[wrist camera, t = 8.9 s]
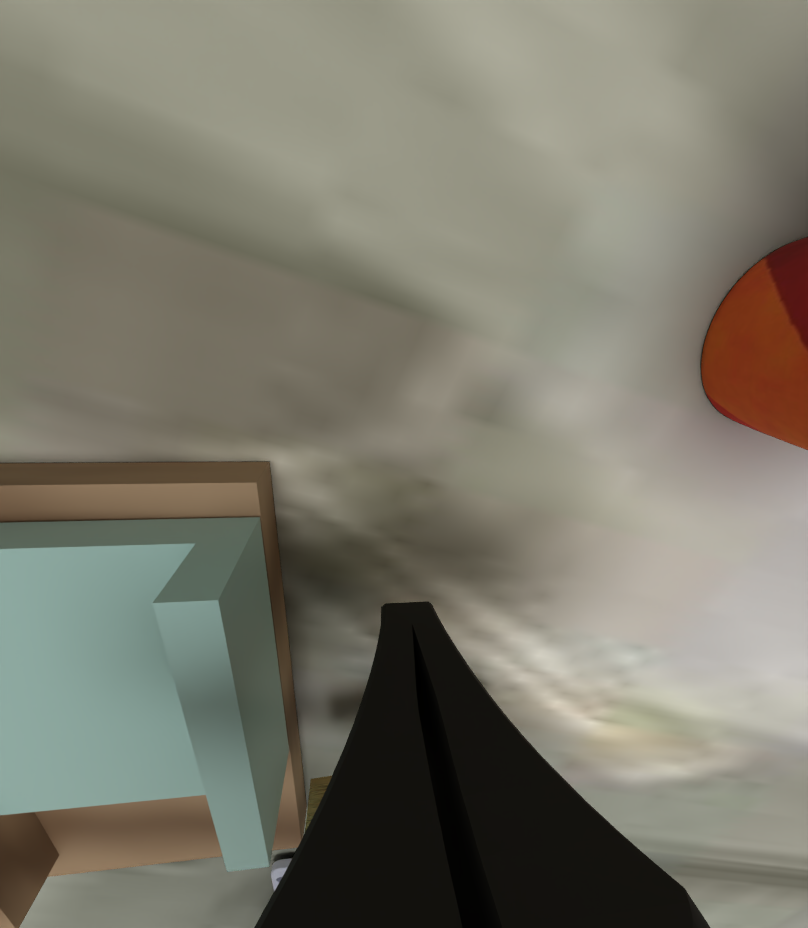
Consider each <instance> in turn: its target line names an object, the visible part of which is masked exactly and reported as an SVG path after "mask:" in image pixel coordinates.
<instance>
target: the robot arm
mask: <svg viewBox="0 0 808 928" xmlns="http://www.w3.org/2000/svg"><path fill="white" fill-rule="evenodd" d="M271 879H272V884H273V889H274V893H273V895H272V897H271V899H270V900H269V902H268V904H267V906H266V908H265V909H264V911H263V913H262V915H261V917H260V918H259V920H258V922H257V924H256V926H255V927H254V928H710V926H709V925H708V923H707V922H706V920H705V919H704V917H703V916H702V914H701V913H700V911H699V910H698V908H697V907H696V905H695V904H694V902H693V901H692V899H691V898H690V896H689V894H688V893H687V891H686V890H685V888H684V887H683V886H681V885H680V884H679V883H678V882H677V881H675V880H674V879H673V878H672V877H671V876H669V875H668V874H667V873H666V872H665V871H663V870H662V869H661V868H660V867H659V866H658V865H656V864H655V863H654V862H653V861H652V860H650V859H649V858H648V857H647V856H646V855H645V854H644V853H642V852H641V851H640V850H639V849H638V848H637V847H636V846H634V845H633V844H632V843H631V842H630V841H629V840H628V839H627V838H625V837H624V836H623V835H622V834H621V833H620V832H619V831H618V830H616V829H615V828H614V827H613V826H612V825H611V824H610V823H609V822H608V821H607V820H606V819H605V818H604V817H602V816H601V815H600V814H599V813H598V812H597V811H596V810H595V809H594V808H593V807H592V806H591V805H590V804H588V803H587V802H586V801H585V800H584V799H583V798H582V797H581V796H580V795H579V794H578V793H577V792H576V791H575V790H574V789H573V788H572V787H571V786H570V785H569V784H568V783H567V782H566V781H565V780H564V779H563V778H562V777H561V776H560V775H559V774H558V773H557V772H556V771H555V770H554V769H553V768H552V767H551V765H550V764H549V763H548V762H547V761H546V760H545V759H544V758H543V757H542V756H541V755H540V754H539V753H538V752H537V751H536V750H535V748H534V747H533V746H532V745H531V744H530V743H529V742H528V741H527V740H526V739H525V737H524V736H523V735H522V734H521V733H520V732H519V730H518V729H517V728H516V727H515V726H514V725H513V723H512V722H511V721H510V720H509V719H508V718H507V716H506V715H505V714H504V713H503V711H502V710H501V709H500V708H499V706H498V705H497V704H496V703H495V701H494V700H493V699H492V697H491V696H490V695H489V694H488V692H487V691H486V690H485V688H484V687H483V686H482V684H481V683H480V682H479V680H478V679H477V677H476V676H475V675H474V673H473V672H472V670H471V669H470V667H469V666H468V664H467V663H466V661H465V660H464V658H463V657H462V655H461V654H460V652H459V651H458V649H457V648H456V646H455V645H454V643H453V642H452V640H451V638H450V637H449V635H448V633H447V632H446V630H445V628H444V626H443V625H442V623H441V621H440V619H439V618H438V616H437V614H436V612H435V610H434V608H433V606H432V604H431V603H430V602H409V603H388V604H384V605H383V606H382V607H381V628H380V634H379V639H378V645H377V649H376V653H375V657H374V661H373V665H372V669H371V673H370V676H369V679H368V683H367V686H366V689H365V692H364V695H363V698H362V701H361V704H360V707H359V710H358V713H357V716H356V719H355V721H354V724H353V727H352V729H351V732H350V734H349V737H348V739H347V742H346V745H345V747H344V750H343V752H342V754H341V757H340V759H339V761H338V764H337V766H336V768H335V770H334V773H333V775H332V777H331V780H330V782H329V784H328V786H327V789H326V791H325V793H324V795H323V797H322V799H321V802H320V804H319V806H318V808H317V810H316V812H315V814H314V816H313V818H312V820H311V822H310V824H309V826H308V828H307V830H306V832H305V834H304V836H303V838H302V840H301V842H300V844H299V846H298V848H297V850H296V852H295V854H294V856H293V858H289V859H281V860H277V861H275V862H274V863H273V864H272V870H271Z"/></svg>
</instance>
